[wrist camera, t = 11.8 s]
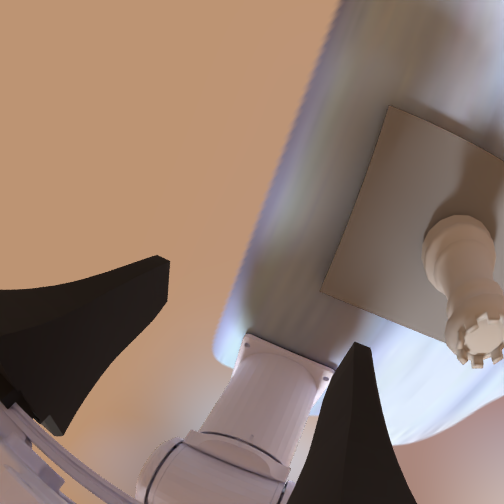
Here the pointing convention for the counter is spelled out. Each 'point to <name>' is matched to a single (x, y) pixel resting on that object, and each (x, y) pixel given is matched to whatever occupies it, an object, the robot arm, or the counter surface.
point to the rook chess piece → (467, 287)
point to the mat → (413, 220)
